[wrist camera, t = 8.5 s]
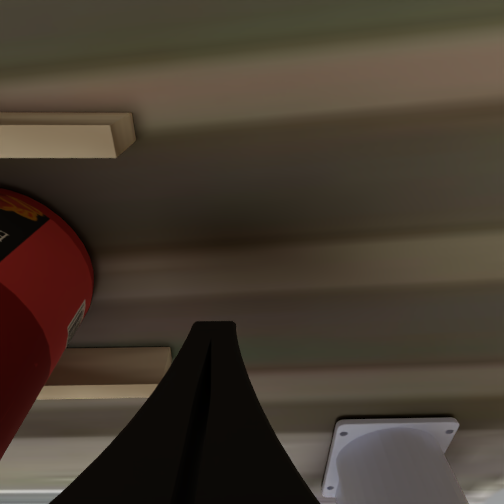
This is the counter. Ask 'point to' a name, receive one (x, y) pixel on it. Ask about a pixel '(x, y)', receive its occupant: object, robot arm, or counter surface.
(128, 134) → the bracket
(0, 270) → the canned food
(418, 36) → the counter surface
